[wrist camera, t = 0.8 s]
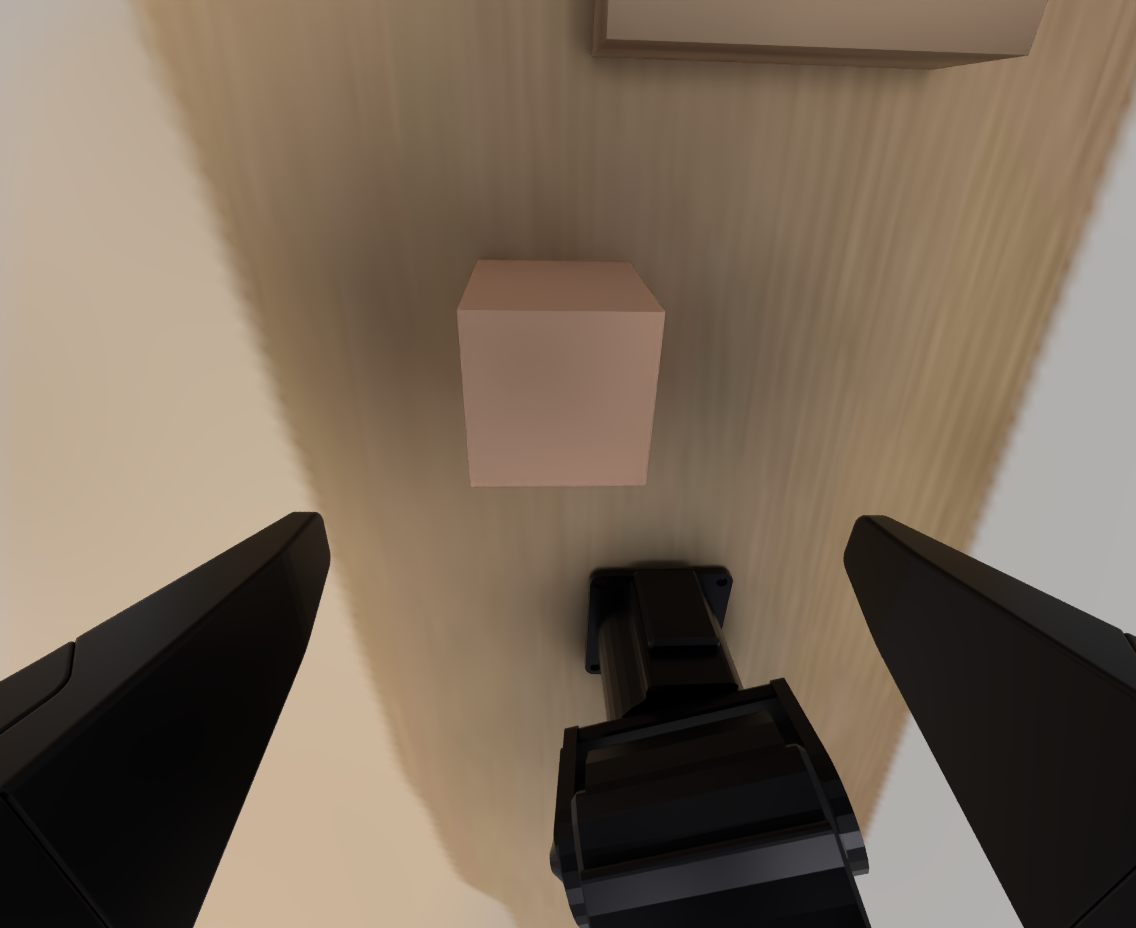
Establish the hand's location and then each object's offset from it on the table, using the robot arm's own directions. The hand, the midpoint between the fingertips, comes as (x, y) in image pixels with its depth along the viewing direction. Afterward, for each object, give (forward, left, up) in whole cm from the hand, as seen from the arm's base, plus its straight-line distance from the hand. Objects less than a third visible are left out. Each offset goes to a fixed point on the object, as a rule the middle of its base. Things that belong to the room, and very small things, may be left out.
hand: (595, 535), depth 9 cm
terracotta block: (0, 0, -12) cm, 12 cm away
